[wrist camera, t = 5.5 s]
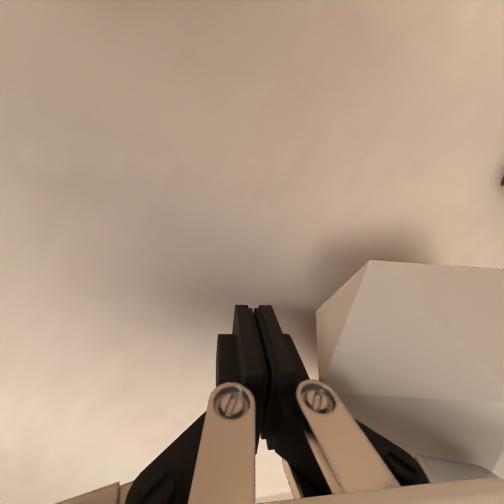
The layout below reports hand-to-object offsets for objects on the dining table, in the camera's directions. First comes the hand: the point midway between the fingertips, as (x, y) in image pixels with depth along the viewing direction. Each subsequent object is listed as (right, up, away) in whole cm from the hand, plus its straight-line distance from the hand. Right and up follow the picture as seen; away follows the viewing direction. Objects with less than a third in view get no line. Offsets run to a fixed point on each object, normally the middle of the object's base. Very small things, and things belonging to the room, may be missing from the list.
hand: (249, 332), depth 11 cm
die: (+7, +1, +3) cm, 7 cm away
